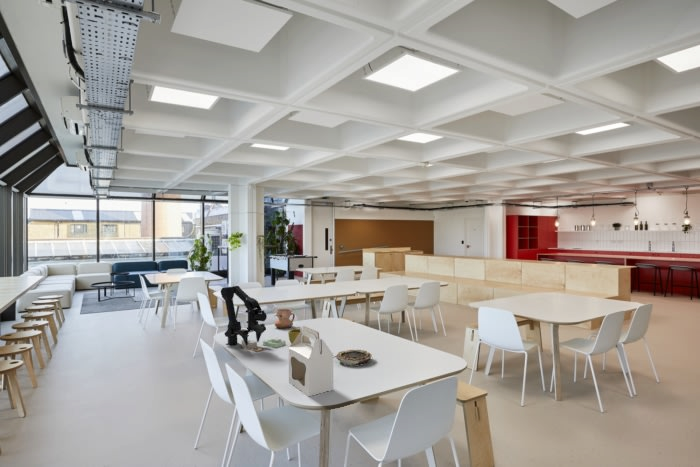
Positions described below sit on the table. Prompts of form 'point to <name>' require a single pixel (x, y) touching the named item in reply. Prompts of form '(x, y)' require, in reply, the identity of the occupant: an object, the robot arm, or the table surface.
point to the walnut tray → (254, 349)
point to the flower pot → (293, 334)
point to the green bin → (271, 344)
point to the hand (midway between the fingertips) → (252, 343)
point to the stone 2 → (276, 340)
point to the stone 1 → (244, 343)
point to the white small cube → (252, 344)
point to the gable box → (310, 363)
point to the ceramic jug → (284, 318)
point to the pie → (353, 357)
